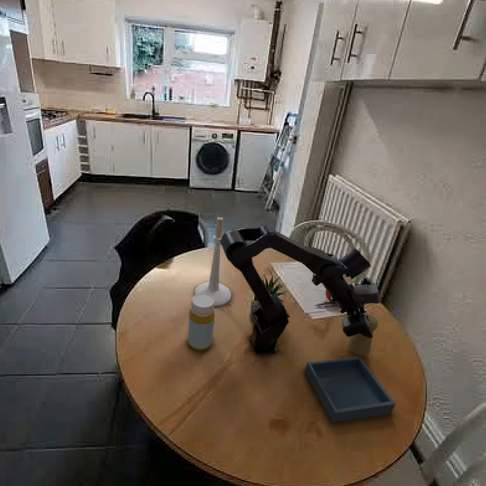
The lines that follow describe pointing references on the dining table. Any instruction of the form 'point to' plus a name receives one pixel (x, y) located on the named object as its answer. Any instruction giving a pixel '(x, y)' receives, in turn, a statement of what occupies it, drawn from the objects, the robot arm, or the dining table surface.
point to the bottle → (201, 321)
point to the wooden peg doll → (363, 339)
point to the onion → (328, 296)
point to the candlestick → (216, 273)
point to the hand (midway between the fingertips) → (370, 331)
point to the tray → (348, 389)
